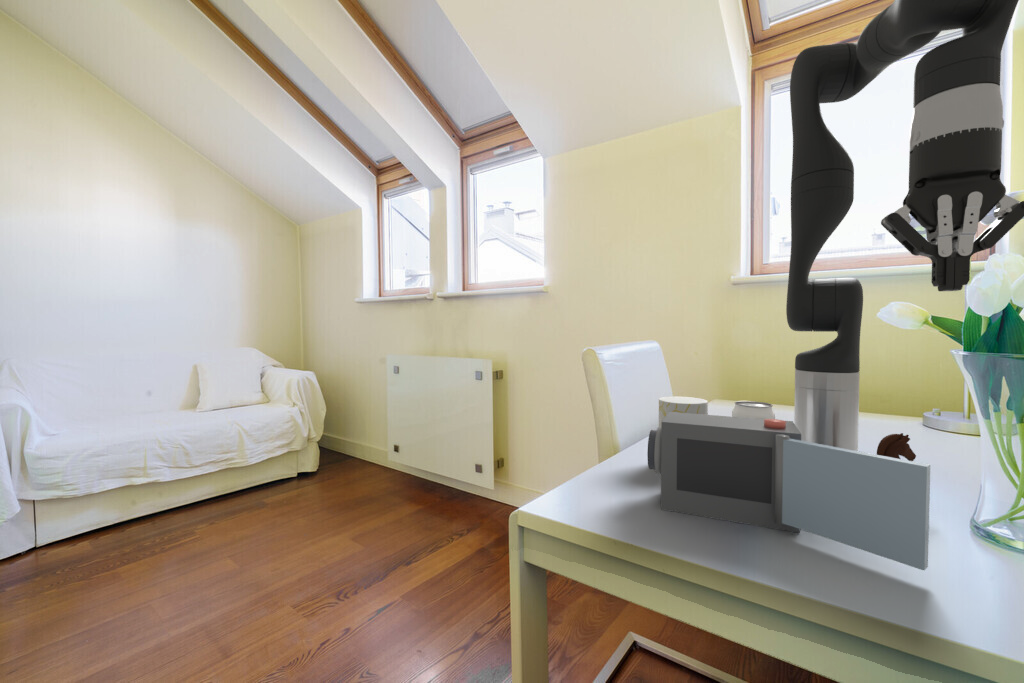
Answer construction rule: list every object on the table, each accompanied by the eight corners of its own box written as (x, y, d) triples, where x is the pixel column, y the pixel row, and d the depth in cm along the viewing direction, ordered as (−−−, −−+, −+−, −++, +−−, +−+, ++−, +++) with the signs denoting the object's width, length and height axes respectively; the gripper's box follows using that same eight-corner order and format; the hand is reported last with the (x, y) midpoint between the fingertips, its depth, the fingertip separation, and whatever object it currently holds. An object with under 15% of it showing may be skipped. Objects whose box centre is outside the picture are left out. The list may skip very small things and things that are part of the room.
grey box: (654, 487, 68) (654, 405, 68) (791, 508, 60) (792, 415, 60) (645, 506, 61) (646, 414, 61) (799, 532, 53) (801, 427, 53)
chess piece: (929, 511, 59) (931, 438, 59) (890, 511, 59) (891, 437, 59) (900, 498, 64) (901, 430, 64) (864, 498, 64) (865, 429, 64)
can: (780, 481, 71) (782, 407, 71) (737, 479, 72) (738, 406, 72) (766, 469, 77) (767, 401, 77) (726, 467, 78) (727, 400, 78)
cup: (649, 466, 79) (650, 399, 79) (671, 457, 84) (672, 395, 84) (694, 477, 73) (695, 405, 73) (715, 467, 78) (715, 400, 78)
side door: (923, 574, 42) (926, 463, 42) (772, 522, 53) (773, 435, 53) (930, 567, 43) (932, 460, 43) (780, 518, 54) (781, 432, 54)
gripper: (1015, 141, 51) (1010, 291, 52) (871, 160, 57) (868, 295, 57) (1058, 112, 44) (1052, 285, 45) (891, 137, 50) (887, 290, 51)
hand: (949, 290), depth 51 cm, fingers closed
